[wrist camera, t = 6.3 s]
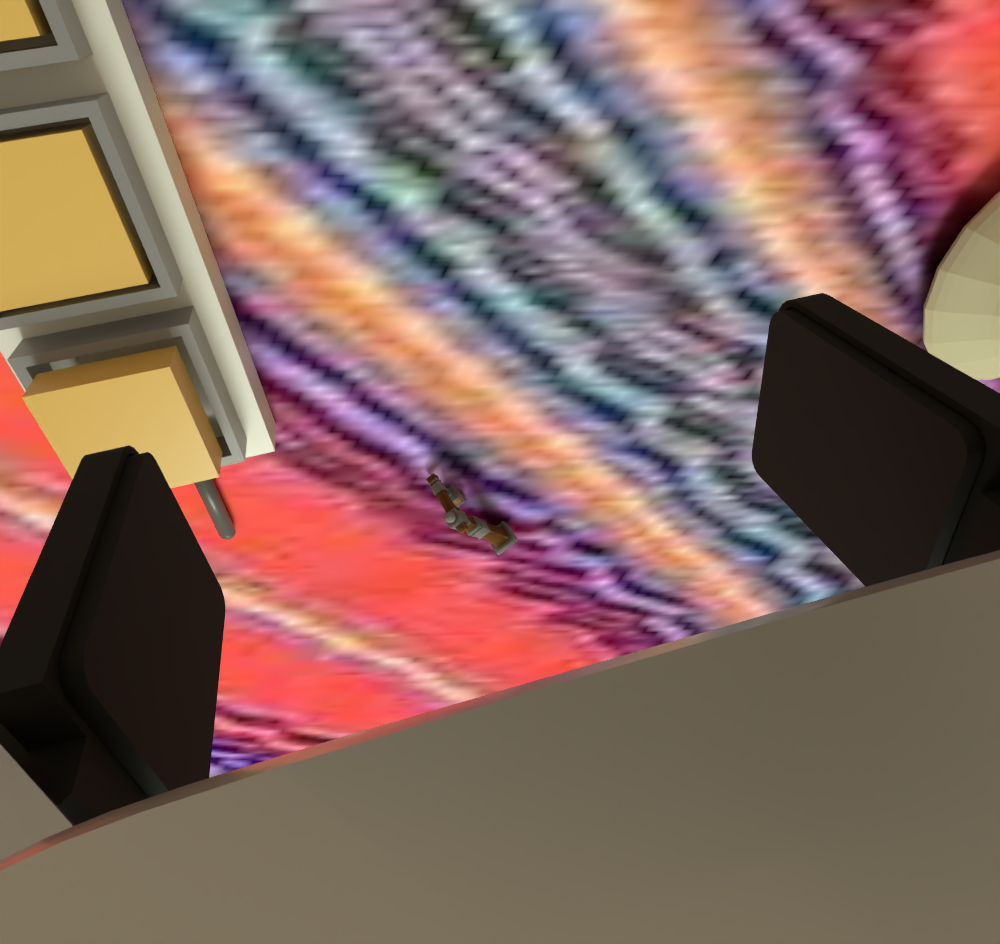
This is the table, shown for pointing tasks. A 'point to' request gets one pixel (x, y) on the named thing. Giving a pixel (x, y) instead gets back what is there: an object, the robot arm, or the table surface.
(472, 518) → the wooden post with brackets
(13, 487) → the table surface
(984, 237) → the handbell
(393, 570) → the table surface
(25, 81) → the strip
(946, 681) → the robot arm
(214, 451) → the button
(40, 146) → the button middle
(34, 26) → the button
